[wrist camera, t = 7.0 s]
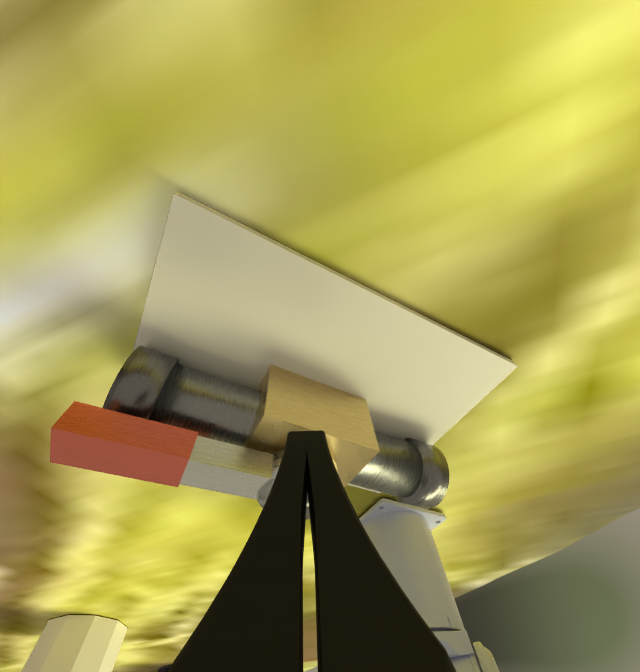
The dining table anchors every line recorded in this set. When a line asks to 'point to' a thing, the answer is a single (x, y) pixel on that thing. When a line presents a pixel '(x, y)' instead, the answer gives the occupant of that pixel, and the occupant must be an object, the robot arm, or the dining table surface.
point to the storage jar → (164, 669)
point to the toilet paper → (77, 645)
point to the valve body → (280, 422)
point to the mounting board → (305, 326)
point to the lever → (160, 453)
